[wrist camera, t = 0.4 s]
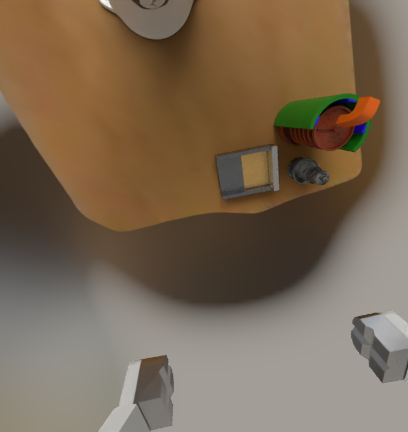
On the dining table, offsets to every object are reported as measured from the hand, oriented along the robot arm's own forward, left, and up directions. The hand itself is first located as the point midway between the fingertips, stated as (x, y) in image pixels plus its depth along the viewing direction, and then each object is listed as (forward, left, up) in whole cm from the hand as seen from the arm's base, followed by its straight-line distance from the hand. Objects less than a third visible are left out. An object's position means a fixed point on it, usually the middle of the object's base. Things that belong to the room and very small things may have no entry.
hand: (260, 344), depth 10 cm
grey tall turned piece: (+6, +24, -46) cm, 52 cm away
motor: (-5, +23, -46) cm, 52 cm away
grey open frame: (+4, +11, -46) cm, 47 cm away
